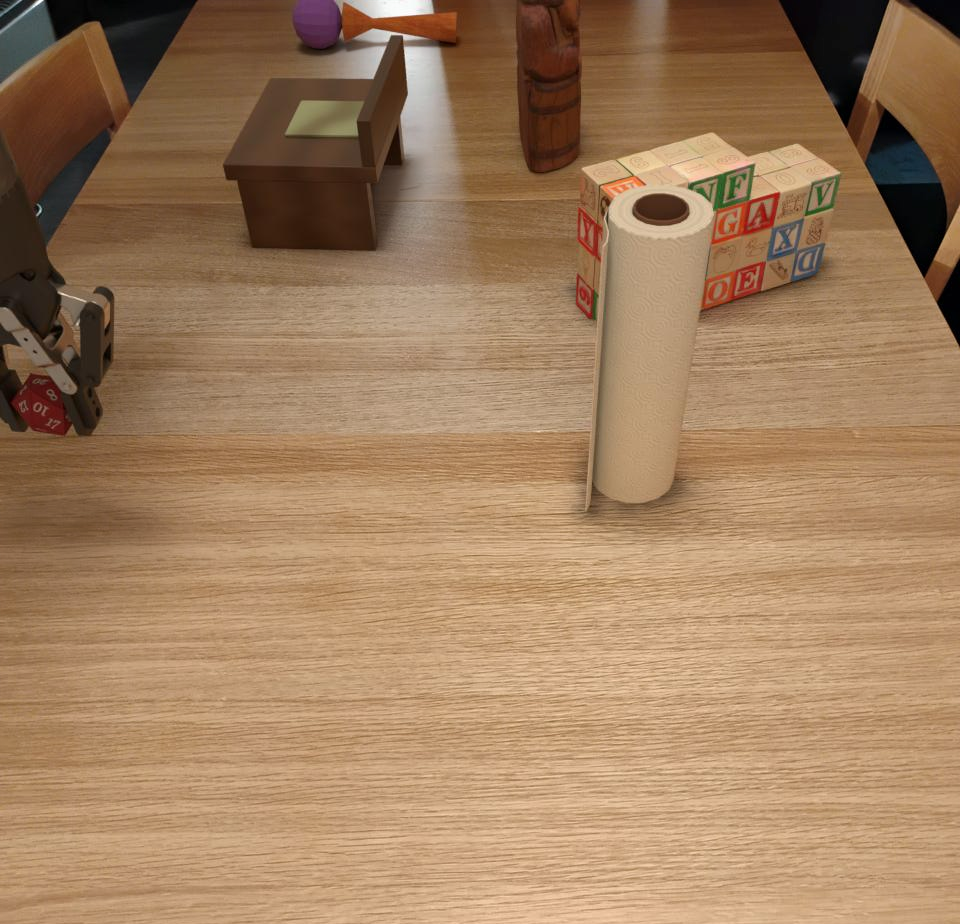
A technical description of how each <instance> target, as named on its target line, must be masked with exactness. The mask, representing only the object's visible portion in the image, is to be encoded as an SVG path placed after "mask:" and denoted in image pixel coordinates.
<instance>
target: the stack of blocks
mask: <svg viewBox="0 0 960 924" xmlns="http://www.w3.org/2000/svg"><path fill="white" fill-rule="evenodd" d="M841 177H842V172H840V171H839V170H838V169H836V168H834V167H833V166H832V165H830V164H829V163H827V162H826V161H825V160H823V158H820V157H818V156H816V155H815V154H813V153H812V152H811V151H809V150H808V149H806V148H805V147H804V146H802V144H799V143H793V144H790V145H787V146H784V147H779V148H777V149H773V150H771V151H764V152H761V153H757V154H753V155H749V156H746V154H744V153H742V152H741V151H740V150H738V149H737V148H736V147H733V146H732V145H730V144H729V143H727V142H726V141H725V140H723V139H722V138H721V136H718V135H717V134H716V133H715V132H708V133H705V134H701V135H698V136H697V135H696V136H693V137H690V138H686V139H683V140H681V141H676V142H672V143H669V144H666V145H661V146H658V147H655V148H654V147H653V148H652V149H650V150H644V151H641V152H637V153H633V154H630V155H626V156H623V157H619V158H617V159H610V160H605V161H602V162H599V163H596V164H592V165H587V166H584V167H582V168H581V169H580V186H579V189H580V190H579V205H578V208H577V232H576V233H577V234H576V237H577V262H576V264H577V265H576V268H577V269H576V271H577V272H576V284H575V286H576V288H575V304H576V305H577V306H578V308H579V309H580V310H581V311H582V313H584V314H585V316H587V318H588V319H590V320H597V317H598V301H599V285H600V269H601V253H602V238H603V222H604V216H605V214H606V212H607V210H608V207H609V206H610V204H611V202H612V201H613V199H614V198H615V196H617V195H619V194H621V193H623V192H624V191H626V190H628V189H632V188H636V187H640V186H644V185H672V186H677V187H683V188H687V189H689V190H692V191H694V192H696V193H699V194H701V195H702V196H703V197H705V198H706V199H707V200H708V201H709V202H710V203H711V204H712V208H713V212H714V223H713V229H712V236H711V242H710V249H709V255H708V262H707V268H706V275H705V281H704V288H703V294H702V300H701V307H700V312H702V310H707V309H709V308H712V307H715V306H718V305H723V304H725V303H728V302H730V301H733V300H737V299H739V298H744V297H746V296H750V295H753V294H756V293H758V292H764V291H767V290H770V289H773V288H776V287H780V286H783V285H785V284H786V285H787V284H789V283H793V282H796V281H799V280H802V279H803V280H804V279H805V278H809V277H812V276H815V275H818V273H819V270H820V266H821V263H822V259H823V255H824V251H825V248H826V241H827V240H828V235H829V232H830V228H831V225H832V221H833V220H832V219H833V216H834V211H835V209H834V206H835V202H836V199H837V194H838V190H839V186H840V181H841Z"/></svg>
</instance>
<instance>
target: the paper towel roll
mask: <svg viewBox="0 0 960 924" xmlns="http://www.w3.org/2000/svg"><path fill="white" fill-rule="evenodd" d="M713 223H714V212H713V208H712V204H711V203H710V202H709V201H708V200H707V199H706V198H705V197H703V196H702V195H701V194H699V193H696V192H694V191H692V190H689V189H687V188H683V187H677V186H672V185H644V186H640V187H636V188H632V189H628V190H626V191H624V192H623V193H621V194H619V195H617V196H615V198H614V199H613V201H612V202H611V204H610V206H609V207H608V210H607V212H606V214H605V216H604V222H603V238H602V253H601V269H600V285H599V301H598V317H597V319H596V320H597V321H596V332H595V333H596V334H595V348H594V349H595V351H594V365H593V366H594V368H593V379H592V380H593V381H592V396H591V397H592V398H591V411H590V412H591V414H590V429H589V430H590V431H589V442H588V443H589V445H588V458H587V459H588V461H587V475H586V476H587V477H586V495H585V509H584V511H585V512H587V511H588V510H589V508H590V506H591V499H592V488H593V486H594V487H595V489H596V490H597V491H598V492H600V493H601V494H602V495H604V496H605V497H607V498H609V499H611V500H614V501H618V502H622V503H626V504H640V503H641V504H644V503H647V502H650V501H653V500H657V499H659V498H660V497H662V496H663V495H665V494H666V493H667V492H668V491H669V490H670V489H671V487H672V485H673V483H674V481H675V476H676V469H677V464H678V463H677V461H678V456H679V450H680V442H681V438H682V437H681V436H682V431H683V423H684V418H685V417H684V416H685V412H686V405H687V397H688V391H689V384H690V377H691V372H692V364H693V358H694V351H695V347H696V346H695V345H696V339H697V333H698V327H699V319H700V312H701V311H700V307H701V300H702V294H703V288H704V281H705V275H706V268H707V262H708V255H709V249H710V242H711V236H712V229H713Z"/></svg>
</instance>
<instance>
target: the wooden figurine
mask: <svg viewBox="0 0 960 924" xmlns="http://www.w3.org/2000/svg"><path fill="white" fill-rule="evenodd" d="M515 1H516V4H515V5H516V6H515V9H516V10H515V37H516V38H515V41H516V47H517V48H516V59H517V60H516V61H517V63H516V90H517V91H516V93H517V106H518V108H517V109H518V128H519V136H520V140H521V144H522V147H523V154H524V159H525V161H526V164H527V167H528V169H529V170H531V171H533V172H535V173H545V172H549V171H553V170H557V169H561V168H563V167H565V166H567V165H569V164H571V163H572V162H574V161H575V160H576V158H577V157H578V156H579V153H580V148H581V115H582V114H581V112H582V84H581V80H582V77H583V62H582V61H583V60H582V59H583V54H582V52H581V32H580V21H581V20H580V18H581V15H582V9H581V4H580V2H581V0H515Z"/></svg>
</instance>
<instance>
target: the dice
mask: <svg viewBox="0 0 960 924" xmlns="http://www.w3.org/2000/svg"><path fill="white" fill-rule="evenodd" d="M22 385H23V386H22V387H21V389H20V390H19V392H18V393H17V395H16V396H15V398H14V399H13V401H12V402H11V404H12V405H13V406H14V407H15V409H16V410H17V411H18V413H19V414H20V415H21V416H22V418H23V419H24V420H25V421H26V423H27V424H28V425H29V428H30V429H31V430H32V432H36V433H43V434H49V435H55V436H63V437H65V436H66V435H67V433H68V432H69V430H70V429H71V427H72V426H73V424H72V421H71V419H70V417H69V414H68V412H67V410H66V407H65V405H64V403H63V401H62V398H61V396H60V393H61V390H60V389H59V387H58V386H57V385H56V383H55V382H54V381H53V379H52V378H51V377H50V375H45V374H38V373H29V375H28V376H27V378H26V380H25V381H24V383H22Z"/></svg>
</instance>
